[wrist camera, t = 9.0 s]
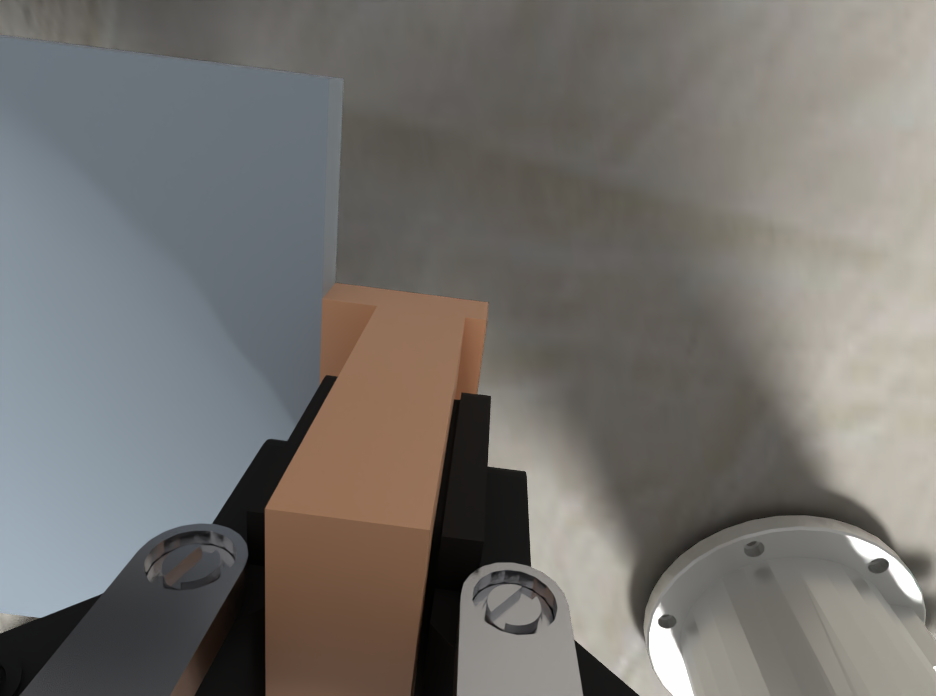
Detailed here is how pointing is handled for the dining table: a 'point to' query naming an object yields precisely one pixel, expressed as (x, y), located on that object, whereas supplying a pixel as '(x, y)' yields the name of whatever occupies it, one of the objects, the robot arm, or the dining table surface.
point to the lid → (211, 352)
